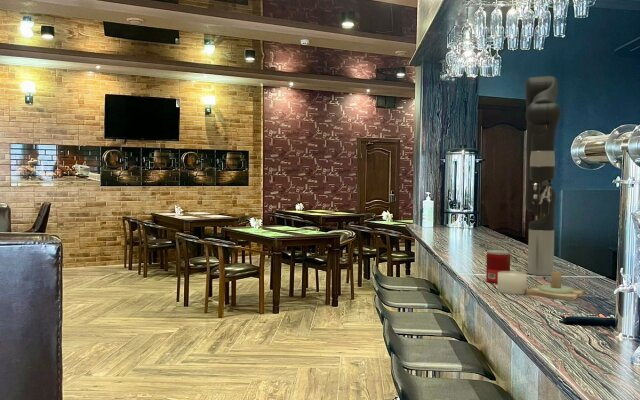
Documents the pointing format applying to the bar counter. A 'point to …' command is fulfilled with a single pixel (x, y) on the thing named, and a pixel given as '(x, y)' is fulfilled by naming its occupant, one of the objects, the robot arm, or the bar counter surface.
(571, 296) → the mat
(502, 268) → the canned food
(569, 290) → the lid
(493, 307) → the bar counter surface
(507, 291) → the crock
